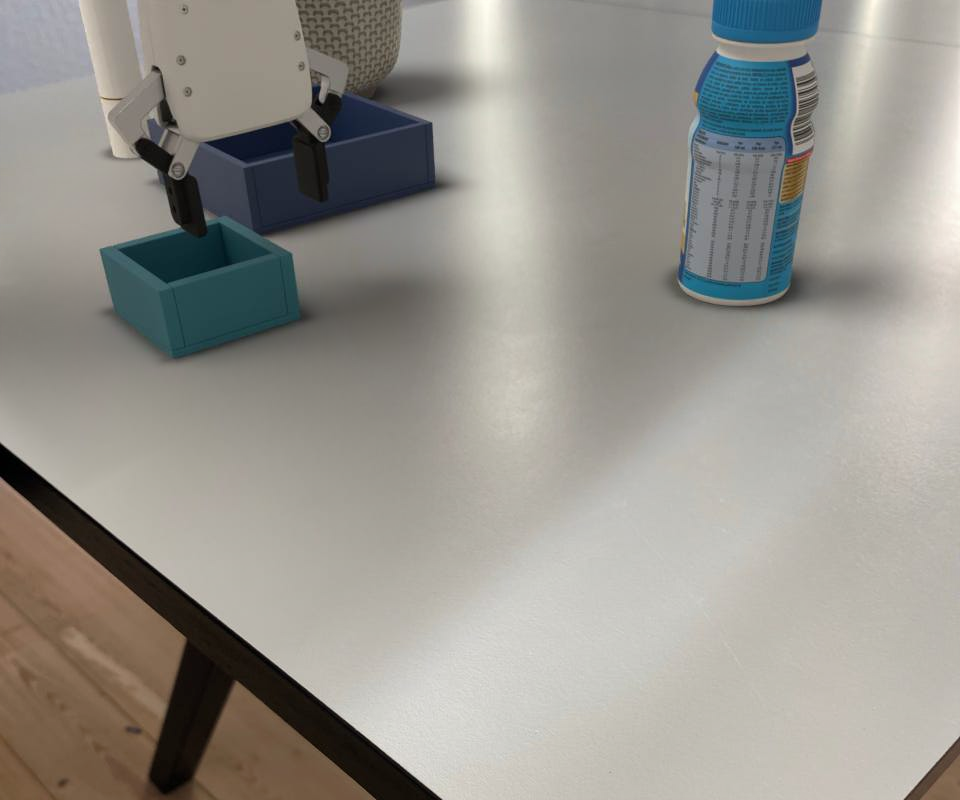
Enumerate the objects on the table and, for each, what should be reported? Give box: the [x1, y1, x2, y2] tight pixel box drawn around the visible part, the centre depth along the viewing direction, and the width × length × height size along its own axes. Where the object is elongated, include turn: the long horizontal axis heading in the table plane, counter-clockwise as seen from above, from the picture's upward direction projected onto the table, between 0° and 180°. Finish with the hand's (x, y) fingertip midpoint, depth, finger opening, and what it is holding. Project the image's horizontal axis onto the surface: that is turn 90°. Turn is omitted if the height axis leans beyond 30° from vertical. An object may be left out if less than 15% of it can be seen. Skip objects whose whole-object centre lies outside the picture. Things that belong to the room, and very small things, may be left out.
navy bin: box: [147, 83, 437, 236], centre depth 101 cm, size 19×19×6 cm
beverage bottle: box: [677, 0, 823, 307], centre depth 76 cm, size 8×8×20 cm
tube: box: [77, 0, 151, 159], centre depth 108 cm, size 4×4×15 cm
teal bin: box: [99, 216, 302, 360], centre depth 80 cm, size 10×10×5 cm
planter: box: [295, 0, 404, 100], centre depth 121 cm, size 17×17×16 cm
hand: (255, 214), depth 79 cm, fingers open, 9 cm apart
